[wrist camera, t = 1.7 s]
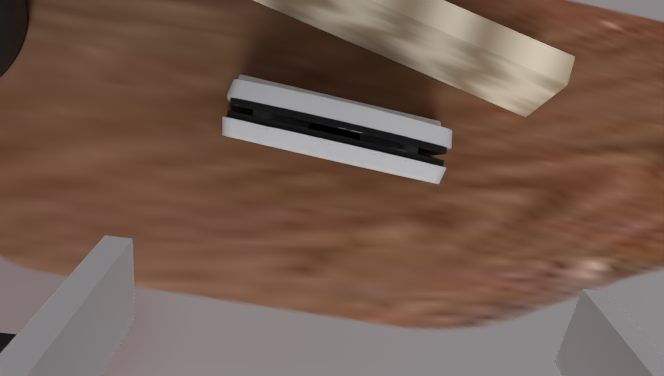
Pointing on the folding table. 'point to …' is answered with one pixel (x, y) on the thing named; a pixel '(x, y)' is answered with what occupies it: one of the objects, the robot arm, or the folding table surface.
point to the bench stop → (444, 46)
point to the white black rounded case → (367, 120)
